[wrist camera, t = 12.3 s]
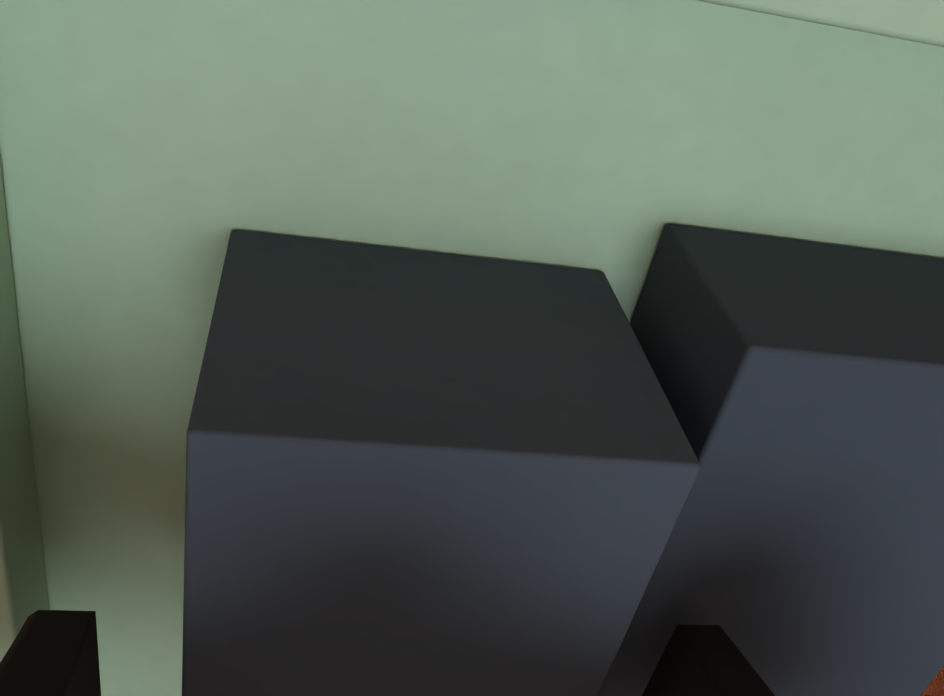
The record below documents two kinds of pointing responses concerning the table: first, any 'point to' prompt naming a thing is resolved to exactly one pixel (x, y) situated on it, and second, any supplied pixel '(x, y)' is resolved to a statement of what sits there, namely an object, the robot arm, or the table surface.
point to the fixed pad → (800, 461)
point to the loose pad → (419, 476)
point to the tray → (379, 205)
